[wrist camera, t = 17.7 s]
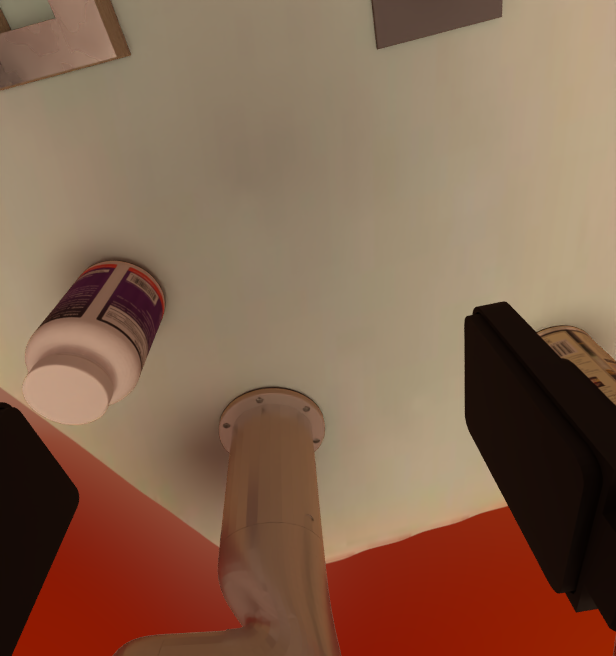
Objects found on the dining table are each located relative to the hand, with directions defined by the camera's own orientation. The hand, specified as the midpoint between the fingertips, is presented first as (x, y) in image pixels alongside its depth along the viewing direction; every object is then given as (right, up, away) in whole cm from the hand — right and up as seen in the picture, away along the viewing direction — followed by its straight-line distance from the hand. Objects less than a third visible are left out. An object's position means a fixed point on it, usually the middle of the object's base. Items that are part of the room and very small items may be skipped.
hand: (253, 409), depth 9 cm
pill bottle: (-16, +5, +33) cm, 37 cm away
